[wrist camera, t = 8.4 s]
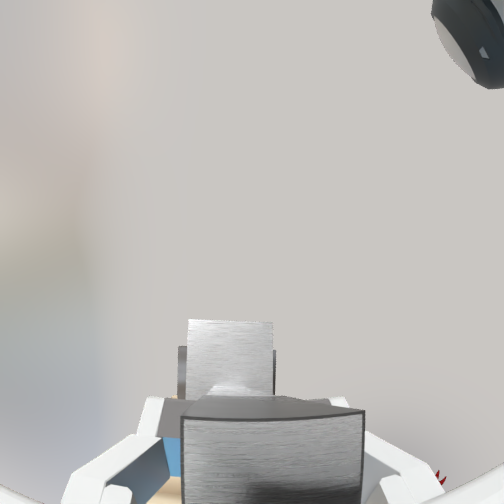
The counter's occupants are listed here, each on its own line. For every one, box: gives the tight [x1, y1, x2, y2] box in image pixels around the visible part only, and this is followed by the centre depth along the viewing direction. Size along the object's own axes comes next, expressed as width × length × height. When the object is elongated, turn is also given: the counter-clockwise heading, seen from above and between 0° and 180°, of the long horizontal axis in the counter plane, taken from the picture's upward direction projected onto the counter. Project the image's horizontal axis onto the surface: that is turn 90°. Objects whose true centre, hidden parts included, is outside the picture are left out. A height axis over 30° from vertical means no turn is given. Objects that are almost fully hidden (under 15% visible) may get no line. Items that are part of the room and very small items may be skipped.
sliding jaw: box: [180, 319, 365, 504], centre depth 16 cm, size 26×7×8 cm, turn 6°
